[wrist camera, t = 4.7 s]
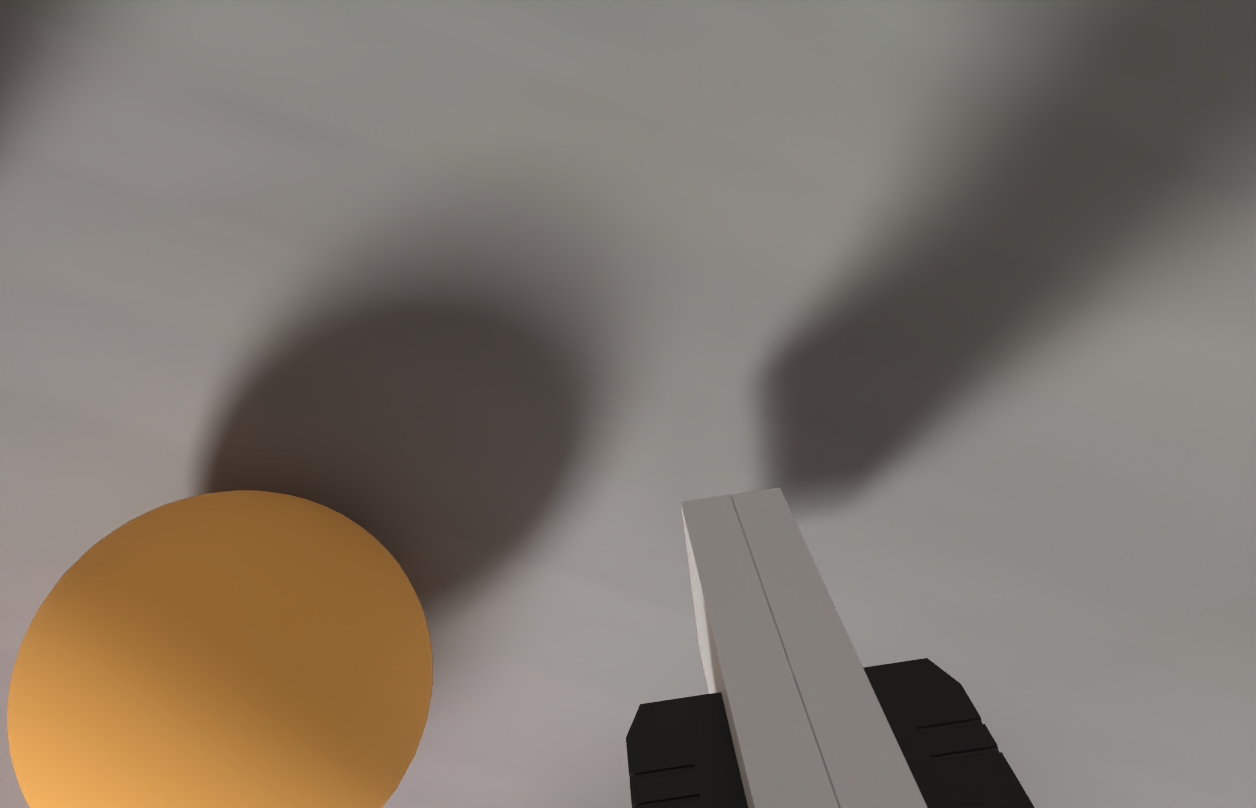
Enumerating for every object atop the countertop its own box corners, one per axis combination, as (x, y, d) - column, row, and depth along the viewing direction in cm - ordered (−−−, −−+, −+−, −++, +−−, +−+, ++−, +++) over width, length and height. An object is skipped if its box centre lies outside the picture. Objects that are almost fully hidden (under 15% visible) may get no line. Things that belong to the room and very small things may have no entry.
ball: (391, 1008, 11) (504, 697, 16) (265, 648, 9) (439, 416, 14) (5, 988, 12) (222, 700, 17) (-193, 656, 10) (121, 437, 15)
